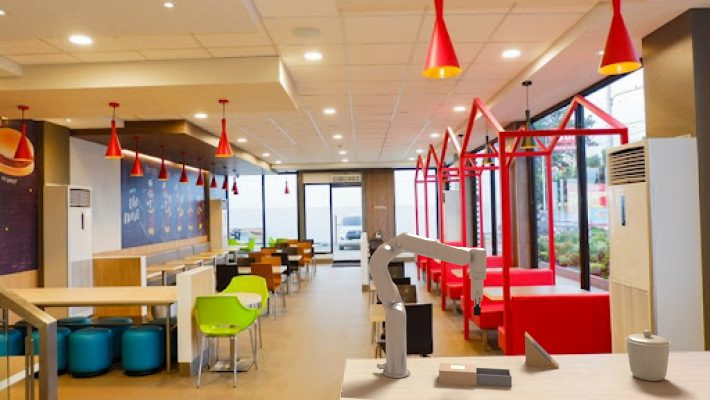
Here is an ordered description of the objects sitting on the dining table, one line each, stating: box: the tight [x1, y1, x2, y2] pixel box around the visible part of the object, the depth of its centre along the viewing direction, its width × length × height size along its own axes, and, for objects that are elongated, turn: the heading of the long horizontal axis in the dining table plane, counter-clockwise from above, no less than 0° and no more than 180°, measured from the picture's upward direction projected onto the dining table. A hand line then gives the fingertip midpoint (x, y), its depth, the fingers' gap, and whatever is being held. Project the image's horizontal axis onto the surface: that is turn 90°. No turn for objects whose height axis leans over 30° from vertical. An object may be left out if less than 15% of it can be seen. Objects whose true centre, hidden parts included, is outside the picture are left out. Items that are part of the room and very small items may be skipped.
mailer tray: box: [476, 367, 513, 388], centre depth 225 cm, size 15×9×4 cm, turn 78°
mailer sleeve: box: [438, 362, 478, 386], centre depth 228 cm, size 16×11×6 cm
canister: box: [624, 329, 672, 382], centre depth 229 cm, size 18×18×21 cm
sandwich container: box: [524, 331, 560, 370], centre depth 249 cm, size 9×15×15 cm, turn 71°
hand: (477, 315), depth 236 cm, fingers closed
